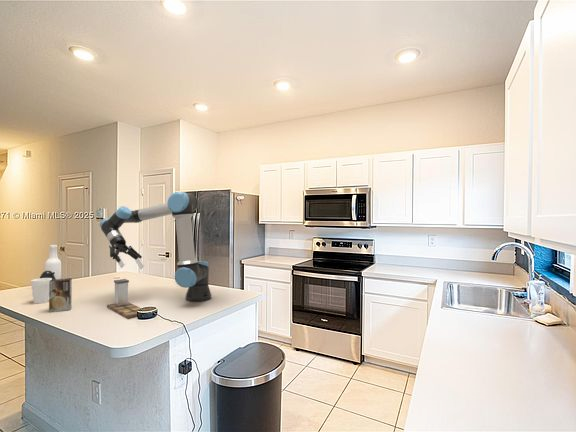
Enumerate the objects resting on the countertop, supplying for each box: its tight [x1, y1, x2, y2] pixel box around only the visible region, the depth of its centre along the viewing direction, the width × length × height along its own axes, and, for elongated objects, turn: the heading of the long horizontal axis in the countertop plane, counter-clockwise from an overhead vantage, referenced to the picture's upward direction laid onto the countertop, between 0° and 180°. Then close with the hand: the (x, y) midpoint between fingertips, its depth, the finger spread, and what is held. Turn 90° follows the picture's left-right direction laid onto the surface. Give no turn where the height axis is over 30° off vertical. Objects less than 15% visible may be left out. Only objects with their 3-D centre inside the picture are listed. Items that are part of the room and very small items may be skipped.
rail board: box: [106, 301, 143, 320], centre depth 161 cm, size 28×10×2 cm, turn 49°
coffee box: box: [48, 277, 73, 313], centre depth 161 cm, size 9×6×16 cm
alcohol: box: [44, 244, 62, 279], centre depth 206 cm, size 9×9×30 cm
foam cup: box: [30, 277, 52, 305], centre depth 175 cm, size 10×9×13 cm
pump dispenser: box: [39, 270, 56, 279], centre depth 192 cm, size 10×10×15 cm
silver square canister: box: [113, 278, 130, 306], centre depth 166 cm, size 6×6×13 cm
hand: (133, 266), depth 169 cm, fingers open, 13 cm apart
